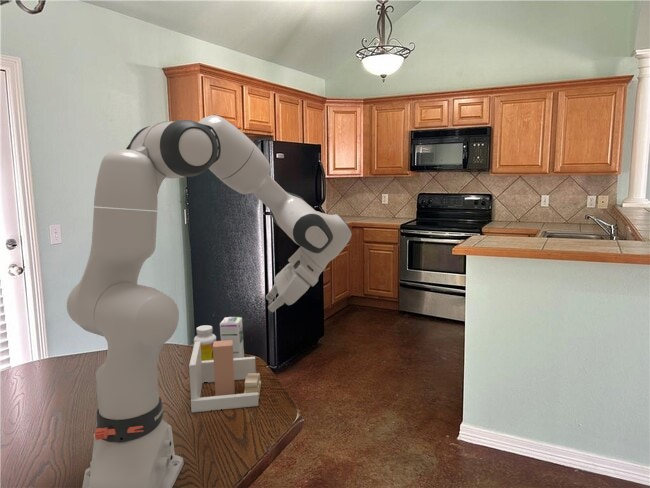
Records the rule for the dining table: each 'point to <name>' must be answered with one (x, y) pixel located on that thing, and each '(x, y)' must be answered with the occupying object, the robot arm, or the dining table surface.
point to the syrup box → (233, 334)
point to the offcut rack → (205, 373)
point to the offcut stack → (252, 383)
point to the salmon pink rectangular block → (223, 367)
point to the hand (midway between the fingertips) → (268, 304)
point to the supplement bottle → (205, 341)
